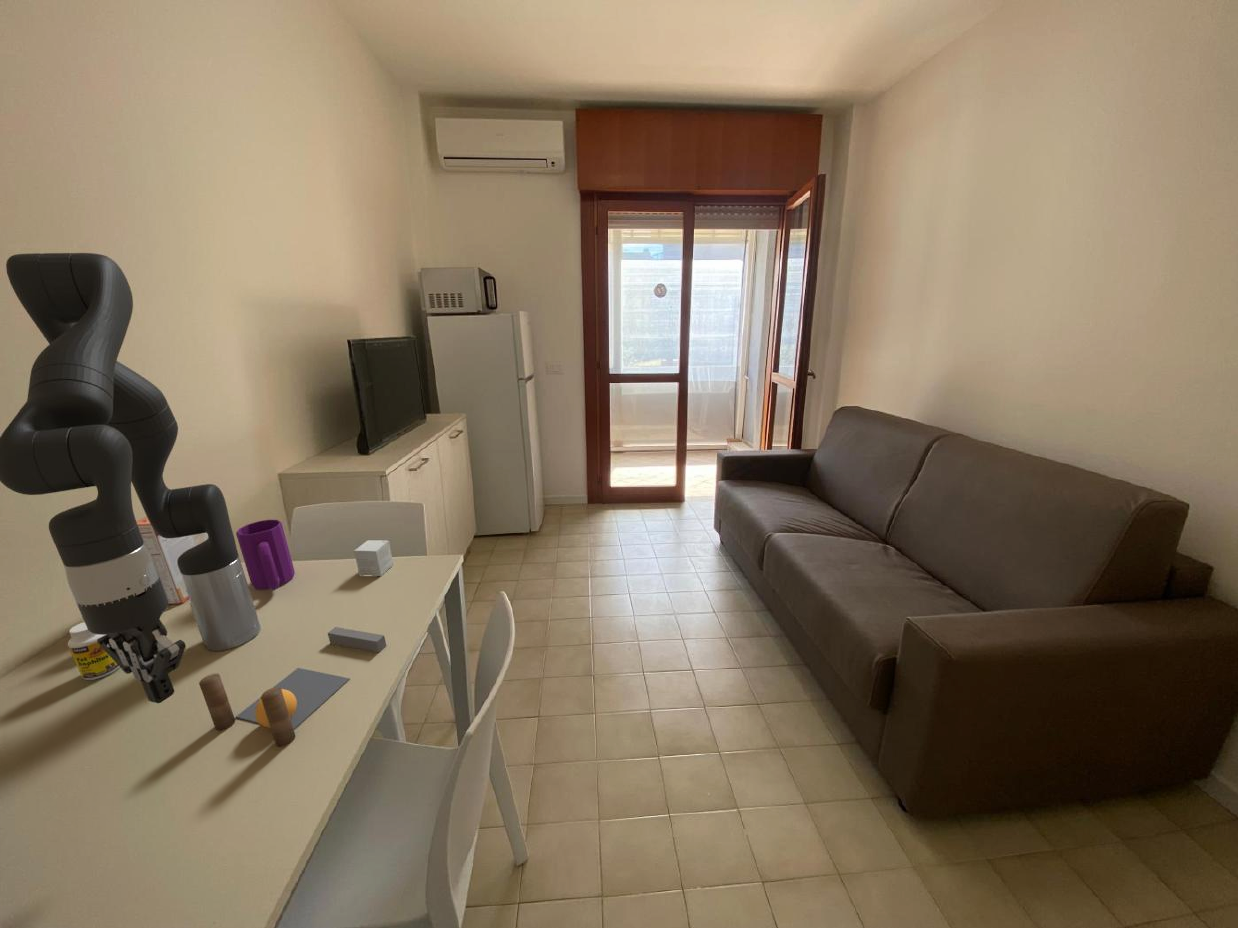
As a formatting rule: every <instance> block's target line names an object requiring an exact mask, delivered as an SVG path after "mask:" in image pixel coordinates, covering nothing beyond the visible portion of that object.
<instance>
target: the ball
mask: <svg viewBox="0 0 1238 928" xmlns="http://www.w3.org/2000/svg"><path fill="white" fill-rule="evenodd" d="M281 690H282V693H283V696H284V700H285V703H286V706H287V710H288V713H289V716H290V718H291V717H292V716H293V714H294V712H295V710H296V707H297V700H296V697H295V696H294V694H293V693H292V692H290V691H288V690H285V689H281ZM255 717H256V720H257V721H258V723H257V724H259V725H261V726H262V727H265V728H270V725H269V722H268V718H267V715H266V712H265V709H264V706H263V703H262V700H261V699H260V701H259V702H258V704H257V706H256V709H255Z"/></svg>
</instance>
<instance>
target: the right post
mask: <svg viewBox="0 0 1238 928" xmlns="http://www.w3.org/2000/svg"><path fill="white" fill-rule="evenodd" d="M260 697H261V700H262V703H263V706H264V709H265V712H266V715H267V718H268V722H269V725H270V727H269V728H270V730H271V734H272V736H273V739H274V743H275V746H277V747H278V748H282V747H285V746H288V745H289V744H291V743H293V742H294V740H295V738H296V733H295V730H294V729H293V726H292V723H291V720H290V716H289V713H288V710H287V706H286V703H285V700H284V696H283V693H282V690H281V688H279V687H275V688H273V687H271V688H269V689H267V690H265V691H264V692H263V693H262V694H261V696H260Z"/></svg>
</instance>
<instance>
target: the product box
mask: <svg viewBox="0 0 1238 928" xmlns="http://www.w3.org/2000/svg"><path fill="white" fill-rule="evenodd" d="M391 551H392V550H391V547H390V541H389V540H380V539H379V540H378V539H377V540H371V539H367V540H366V541H365V542H364V543H362V544H361V545H360V546H359V547H357V548H356V549H355V550H354V551H353V553H354V556H355V557H354V558H355V561H356V564H357V565H356V566H357V570H358V571H357V572H358V575H359V576H360V575H372V576H371V577H377V576H381V577H383V576H384V575H385V574H386V573H387V572H388V571H389V570H390V569H391V568H392V567H393V566H394V560H393V556H392V552H391ZM391 566H392V567H391ZM390 567H391V568H390ZM389 568H390V569H389ZM388 569H389V570H388ZM386 571H387V572H386ZM383 574H384V575H383ZM382 575H383V576H382Z"/></svg>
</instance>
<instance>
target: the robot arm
mask: <svg viewBox="0 0 1238 928" xmlns="http://www.w3.org/2000/svg"><path fill="white" fill-rule="evenodd" d="M5 268H6V274H7V277H8V280H9V283H10V285H11V288H12V290H13V292H14V293H15V295H16V297H17V299H18V300H19V302H20V304H21V306H22V307H23V308H24V310H25V311H26V313H27V315H29V317H30V318H31V320H32V322H33V323H34V324H35V326H36V327H37V328H38V330H39V332H40V333H41V334H42V335H43V337H44V338H45V340H46V341H47V342H48V345H47V346H46V347H45V348H43V350H42V351H41V352H40V353H39V354H38V356H37V357H36V359H35V361H34V362H33V364H32V367H31V369H30V377H29V383H28V384H29V385H28V392H27V398H26V399H27V400H26V402H25V403H24V404H23V405H22V407H21V408H20V409H19V410H18V412H17V414H16V415H15V416H14V417H13V419H12V420H11V422H10V423H9V424H8V425H7V427H6V428H5V429H4V431H3V432H2V434H0V435H1V436H0V483H1V484H3V486H4V487H5V488H7V489H9V490H11V491H13V492H15V493H17V494H22V495H27V496H36V495H37V496H38V495H40V496H42V495H48V494H54V493H60V492H67V491H72V490H80V489H85V488H90V487H91V488H92V487H96V490H97V496H96V499H94V500H91V501H90V502H89V501H88V502H87V503H83V504H81V505H77V506H74V507H71V508H68V509H65V510H64V511H61V512H59V513H57V514H55V515H54V516H53V517H52V518H50V520H49V522H48V530H49V533H50V535H51V536H50V537H51V539H52V541H53V543H54V545H55V548H56V550H57V553H58V555H59V557H60V560H61V561H62V565H63V566H64V570H65V574H66V575H65V576H66V580H67V584H68V587H69V589H70V591H71V594H72V596H73V598H74V600H75V603H76V605H77V608H78V610H79V612H80V615H81V616H82V619H83V622H85V624H86V626H87V629H88V630H89V631H90V632H91V633H94V634H99V635H105V636H103V637H101V638H99V639H97V642H98V644H99V645H100V646H101V647H102V648H103V649H104V650H105V651H106V652H107V654H108V655H109V656H110V657H111V658H112V659H113V660H114V661H115V662H116V663H117V664H118V665H119V666H120V667H119V669H121V670H122V671H123V673H125V674H126V675H129V674H131V673H132V675H133V676H134V679H136V681H137V680H138V681H140V683H141V686H142V688H143V690H144V692H145V695H146V697H147V701H148V702H151V703H154V704H161V703H163V702H164V701H165V700H168V698H170V697H171V696H173V695H174V694H175V688H174V686H173V684H172V681H171V678H170V676H169V673H171V672H173V671H175V670H176V669H178V668H179V666H180V663H181V661H182V659H183V656H184V652H185V650H186V647H187V646H186V643H185V642H184V641H183V640H182V639H179V640H177V641H175V642H173V641H171V639H169V638H168V637H167V636H168V629H167V628H166V626H165V625H164V624H163V622H162V621H161V616H162V614H163V613H164V612H165V611H166V610H167V609H168V607H169V605H168V599H167V596H166V593H165V591H164V588H163V585H162V582H161V580H160V577H159V574H158V572H157V569H156V566H155V563H154V561H153V558H152V556H151V554H150V553H149V551H148V549H147V548H146V546H145V544H144V541H143V538H142V536H141V533H140V530H139V527H138V525H137V519H136V517H135V514H134V513H135V512H134V509H133V507H134V506H133V500H132V486H133V488H134V491H135V493H136V495H137V498H138V500H139V501H140V504H141V507H142V509H143V510H144V513H145V517H147V518H148V520H149V522H150V524H151V525H152V527H153V529H154V530H155V531H156V532H157V534H159V535H160V536H161V537H163V538H178V537H184V536H190V535H196V534H201V533H207V534H208V539H207V540H206V541H204V542H202V543H201V544H199V545H197V546H195V547H193V548H191V549H189V550H187V551H185V552H184V553H183V554H181V555H180V556H179V558H178V560H177V564H178V567H179V570H180V573H181V575H182V578H183V581H184V584H185V587H186V589H187V592H188V595H189V600H190V603H189V605H190V608H191V611H192V614H193V617H194V619H195V623H196V625H197V628H198V631H199V635H200V638H201V640H202V642H203V643H204V644H205V647H206V649H207V650H209V651H216V652H218V651H225V650H226V651H227V650H230V649H233V648H236V647H239V646H242V645H243V644H246V643H247V642H249V641H251V640H252V639H253V638H254V637H256V636H257V635H258V634H259V633H260V631H261V624H260V622H259V618H258V615H257V611H256V607H255V605H254V604H255V603H254V600H253V597H252V594H251V591H250V587H249V585H248V580H247V578H246V574H245V571H244V568H243V566H242V562H241V559H240V555H239V552H238V548H237V544H236V539H235V536H234V532H233V529H232V525H231V520H230V516H229V515H230V514H229V511H228V507H227V503H226V499H225V497H224V494H223V492H222V490H221V489H220V488H219V486H217V485H216V484H212V483H207V484H199V485H195V486H194V485H193V486H185V487H180V488H179V487H178V488H173V489H170V488H168V486H167V485H166V483H165V481H164V478H163V477H164V476H163V475H164V472H165V466H166V464H167V462H168V459H169V457H170V455H171V453H172V451H173V449H174V446H175V443H176V442H177V438H178V433H179V426H178V422H177V420H176V418H175V416H174V414H173V411H172V409H171V407H170V405H169V403H168V401H167V399H166V397H165V395H164V393H163V392H162V391H161V390H160V388H159V387H157V386H156V385H155V384H153V383H152V382H151V381H150V380H148V379H146V378H145V377H143V376H142V375H141V374H139V373H138V372H136V371H135V370H133V369H132V368H130V367H128V366H127V365H124V364H123V363H121V362H120V361H118V357H119V354H120V352H121V349H122V346H123V344H124V341H125V338H126V334H127V332H128V329H129V325H130V322H131V319H132V315H133V310H134V298H133V292H132V290H131V287H130V284H129V282H128V279H127V277H126V275H125V273H124V272H123V270H122V268H121V267H120V265H118V264H117V262H116V261H114V259H112V258H111V257H109V256H107V255H104V254H99V253H93V252H48V253H47V252H46V253H45V252H44V253H39V252H38V253H36V252H34V253H20V254H19V253H18V254H17V253H16V254H13V255H11V256H9V257H8V258H7V260H6V263H5ZM106 634H107V635H106Z"/></svg>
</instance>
